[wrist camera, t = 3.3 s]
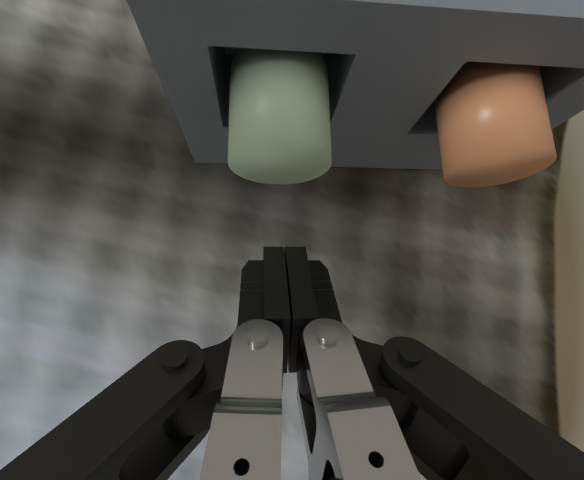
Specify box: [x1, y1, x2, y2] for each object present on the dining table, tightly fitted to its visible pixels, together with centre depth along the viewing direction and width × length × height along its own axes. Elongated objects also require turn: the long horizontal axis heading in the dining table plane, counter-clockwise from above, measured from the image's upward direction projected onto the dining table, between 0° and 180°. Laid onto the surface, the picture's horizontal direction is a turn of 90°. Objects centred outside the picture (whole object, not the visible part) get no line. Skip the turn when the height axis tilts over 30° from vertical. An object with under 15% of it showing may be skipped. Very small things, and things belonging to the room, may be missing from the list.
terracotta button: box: [434, 61, 557, 188], centre depth 14 cm, size 4×4×4 cm
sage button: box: [228, 48, 332, 185], centre depth 14 cm, size 4×4×4 cm
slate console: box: [127, 0, 584, 170], centre depth 16 cm, size 8×18×11 cm, turn 91°
